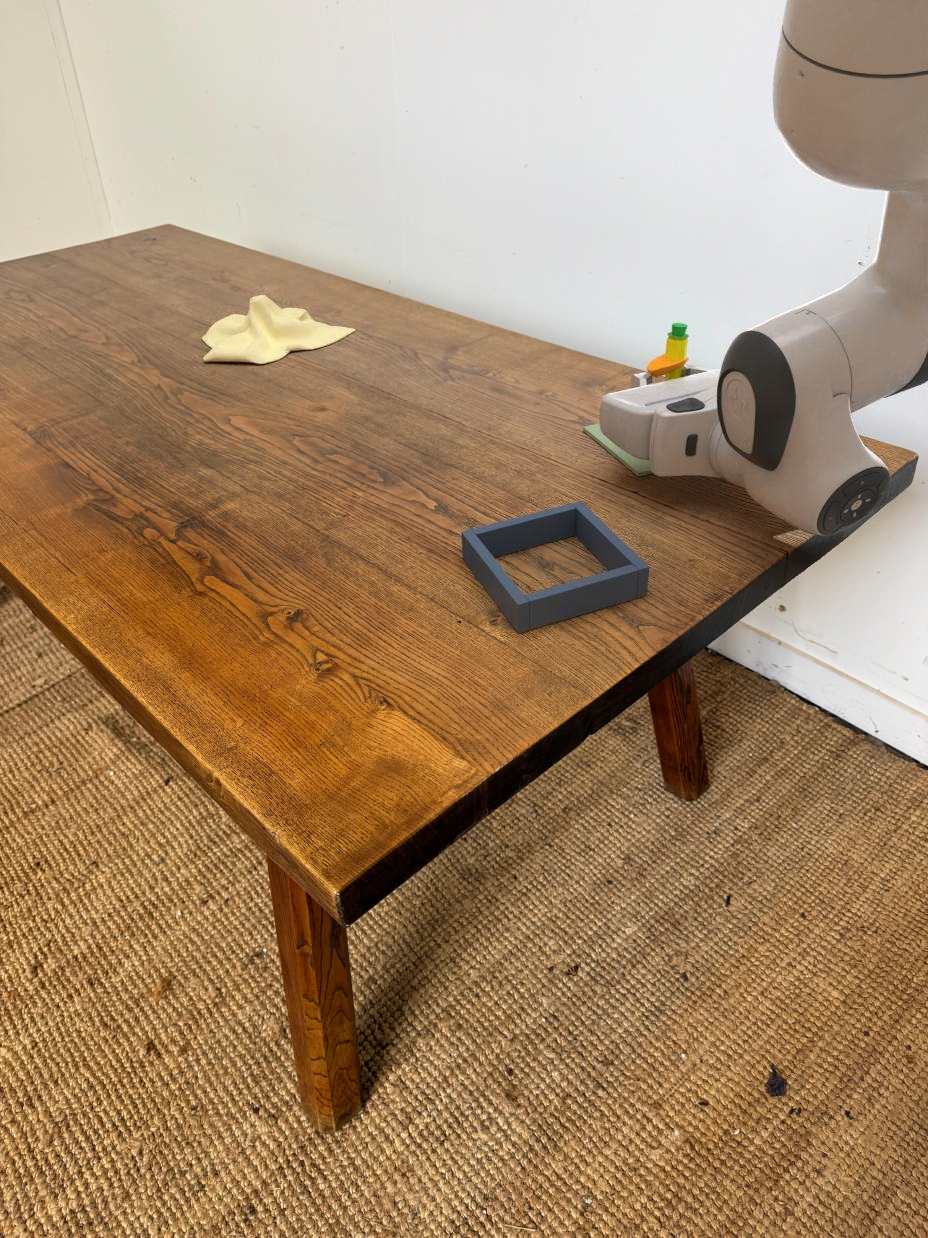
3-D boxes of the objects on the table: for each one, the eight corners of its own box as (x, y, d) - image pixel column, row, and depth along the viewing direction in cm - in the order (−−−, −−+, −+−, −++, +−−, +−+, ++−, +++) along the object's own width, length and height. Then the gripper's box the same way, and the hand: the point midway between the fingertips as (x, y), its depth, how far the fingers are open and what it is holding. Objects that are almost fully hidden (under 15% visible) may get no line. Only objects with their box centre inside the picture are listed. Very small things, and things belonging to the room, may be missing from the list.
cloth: (211, 375, 118) (200, 330, 114) (187, 332, 131) (177, 290, 127) (368, 343, 124) (363, 299, 120) (330, 305, 138) (324, 265, 134)
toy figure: (655, 450, 94) (666, 339, 87) (630, 439, 96) (638, 330, 89) (695, 429, 97) (708, 321, 90) (669, 419, 99) (680, 313, 92)
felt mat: (674, 409, 103) (674, 405, 102) (736, 451, 94) (737, 447, 94) (583, 430, 99) (583, 426, 99) (638, 476, 91) (638, 472, 90)
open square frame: (579, 527, 83) (580, 500, 82) (646, 595, 75) (649, 566, 73) (462, 559, 80) (461, 531, 78) (518, 634, 71) (517, 604, 69)
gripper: (834, 373, 84) (745, 328, 94) (647, 418, 78) (574, 364, 88) (821, 434, 87) (736, 384, 98) (642, 480, 82) (572, 422, 92)
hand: (658, 375), depth 93 cm, fingers open, 4 cm apart
